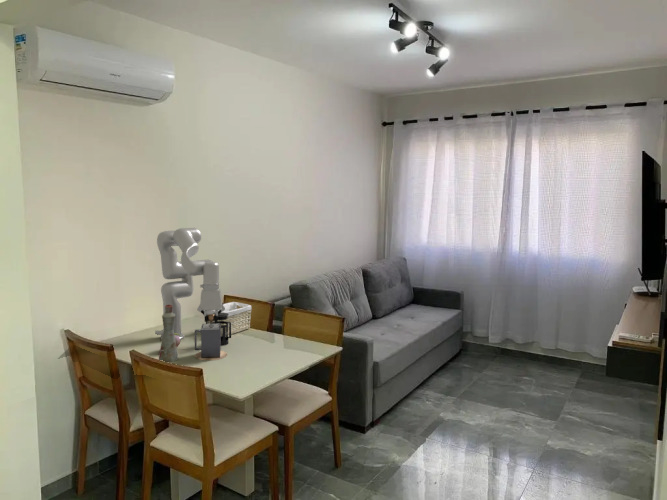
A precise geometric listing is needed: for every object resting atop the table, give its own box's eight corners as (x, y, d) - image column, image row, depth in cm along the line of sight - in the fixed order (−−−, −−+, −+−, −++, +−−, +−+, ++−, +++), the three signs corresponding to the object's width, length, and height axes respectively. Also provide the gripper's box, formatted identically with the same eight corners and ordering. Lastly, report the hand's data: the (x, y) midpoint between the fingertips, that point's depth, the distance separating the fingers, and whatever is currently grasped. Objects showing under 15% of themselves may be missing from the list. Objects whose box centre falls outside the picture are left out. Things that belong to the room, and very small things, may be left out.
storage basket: (223, 338, 286) (223, 312, 284) (203, 332, 295) (203, 308, 293) (252, 329, 306) (252, 305, 304) (233, 324, 315) (233, 301, 313)
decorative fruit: (175, 347, 267) (175, 328, 266) (182, 350, 262) (182, 332, 260) (158, 350, 261) (158, 331, 260) (165, 354, 255) (165, 335, 254)
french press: (215, 349, 266) (215, 306, 263) (206, 344, 273) (206, 302, 270) (234, 344, 274) (235, 303, 271) (226, 340, 281) (226, 300, 278)
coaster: (193, 362, 245) (193, 360, 245) (196, 351, 261) (196, 350, 260) (226, 361, 248) (226, 359, 248) (227, 351, 263) (227, 349, 263)
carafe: (194, 358, 248) (193, 328, 246) (195, 352, 257) (195, 323, 255) (219, 357, 250) (220, 328, 249) (220, 351, 259) (220, 323, 257)
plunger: (204, 354, 250) (204, 316, 248) (205, 350, 256) (205, 313, 254) (217, 354, 251) (217, 316, 249) (217, 349, 258) (218, 312, 255)
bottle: (167, 365, 241) (167, 307, 237) (154, 361, 245) (154, 304, 242) (181, 360, 248) (181, 304, 245) (169, 356, 253) (168, 301, 249)
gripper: (193, 288, 245) (193, 325, 247) (228, 288, 248) (228, 324, 250) (194, 285, 252) (194, 321, 254) (228, 285, 255) (228, 320, 257)
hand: (211, 322), depth 252 cm, fingers closed on plunger, 3 cm apart
